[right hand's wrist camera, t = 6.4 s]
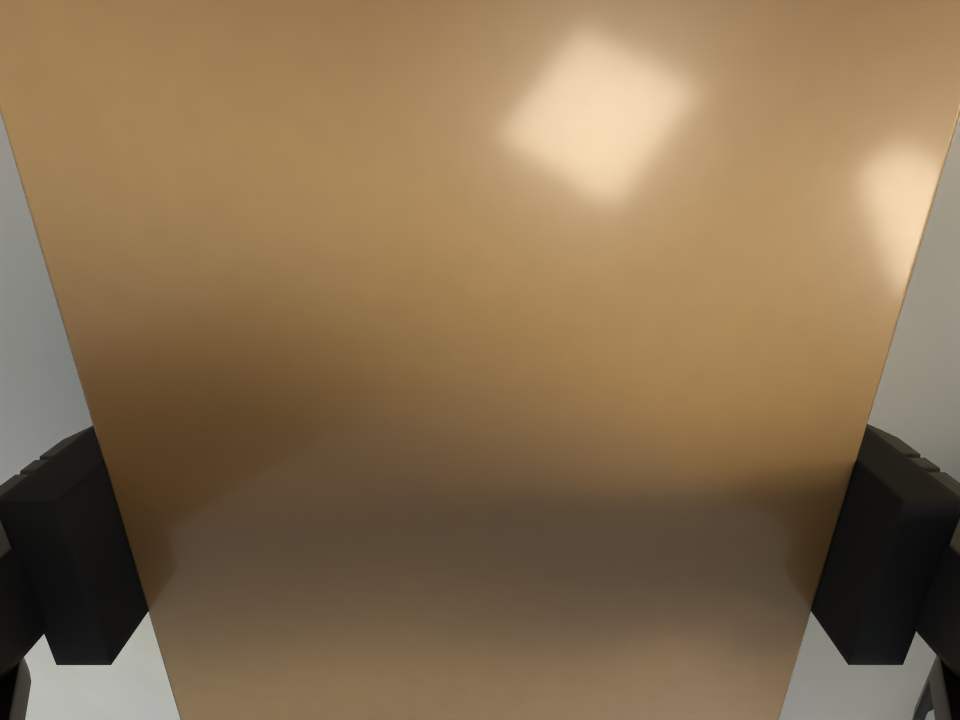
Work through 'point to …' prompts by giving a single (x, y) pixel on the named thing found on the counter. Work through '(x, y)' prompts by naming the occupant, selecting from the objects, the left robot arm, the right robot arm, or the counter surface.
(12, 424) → the counter surface
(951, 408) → the counter surface
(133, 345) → the thick board
